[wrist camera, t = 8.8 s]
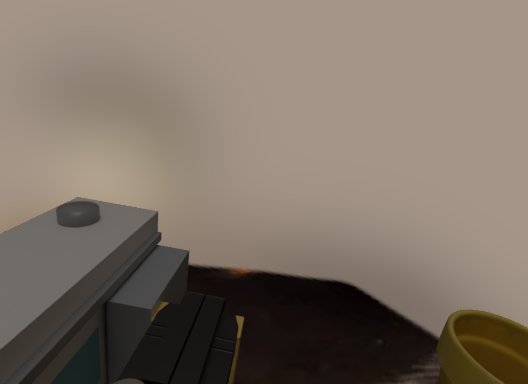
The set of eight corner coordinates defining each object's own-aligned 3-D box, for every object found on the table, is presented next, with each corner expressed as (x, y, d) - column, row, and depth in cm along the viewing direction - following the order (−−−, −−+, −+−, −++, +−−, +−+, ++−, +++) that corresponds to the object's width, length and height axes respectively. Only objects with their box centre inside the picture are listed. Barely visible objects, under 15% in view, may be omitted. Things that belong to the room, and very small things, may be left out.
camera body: (-201, 612, 14) (-382, 384, 9) (100, 295, 35) (96, 179, 30) (-28, 654, 13) (-116, 441, 8) (169, 308, 35) (176, 193, 30)
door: (109, 392, 23) (106, 300, 20) (153, 319, 31) (156, 244, 28) (226, 416, 23) (241, 326, 20) (242, 336, 30) (255, 263, 27)
